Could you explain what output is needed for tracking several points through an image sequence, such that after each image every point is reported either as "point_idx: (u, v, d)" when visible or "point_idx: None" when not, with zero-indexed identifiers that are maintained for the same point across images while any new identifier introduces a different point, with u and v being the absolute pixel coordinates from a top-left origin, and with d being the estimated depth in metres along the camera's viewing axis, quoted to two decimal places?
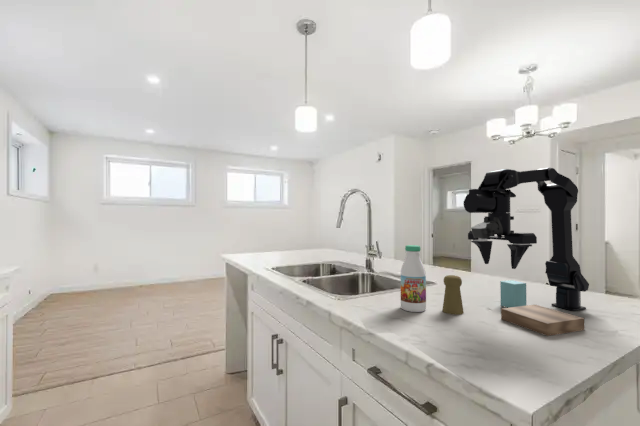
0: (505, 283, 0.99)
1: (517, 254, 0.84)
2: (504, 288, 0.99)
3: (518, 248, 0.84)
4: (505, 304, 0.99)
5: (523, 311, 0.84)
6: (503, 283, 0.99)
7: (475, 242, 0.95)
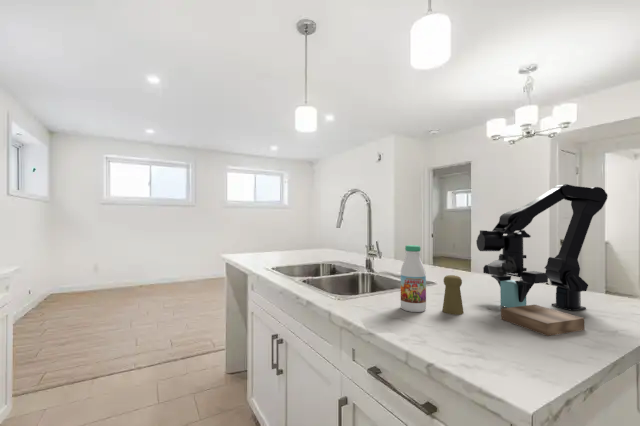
0: (505, 283, 0.99)
1: (524, 289, 0.95)
2: (504, 288, 0.99)
3: (525, 284, 0.95)
4: (505, 304, 0.99)
5: (523, 311, 0.84)
6: (503, 283, 0.99)
7: (495, 277, 1.02)
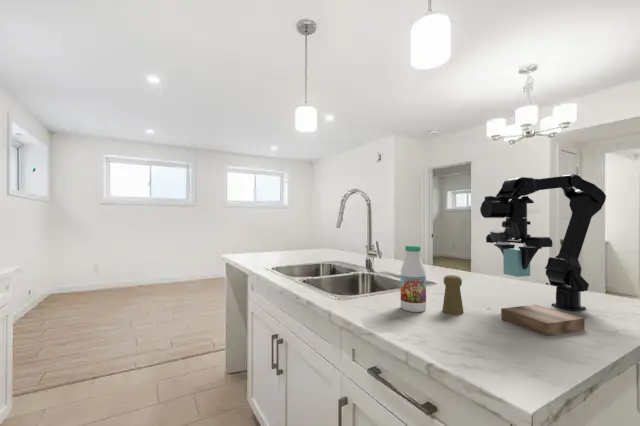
0: (508, 250, 0.96)
1: (528, 256, 0.93)
2: (507, 255, 0.96)
3: (528, 250, 0.93)
4: (508, 272, 0.96)
5: (523, 311, 0.84)
6: (506, 250, 0.97)
7: (498, 245, 0.99)
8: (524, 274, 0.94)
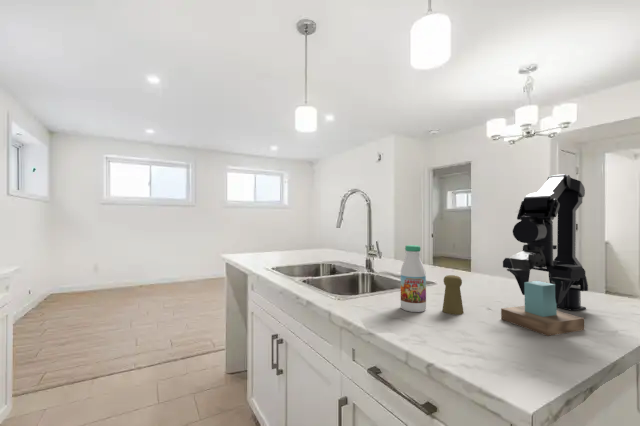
0: (531, 285, 0.83)
1: (562, 288, 0.77)
2: (529, 291, 0.83)
3: (563, 281, 0.77)
4: (530, 310, 0.83)
5: (523, 311, 0.84)
6: (528, 285, 0.83)
7: (512, 271, 0.88)
8: (550, 313, 0.80)
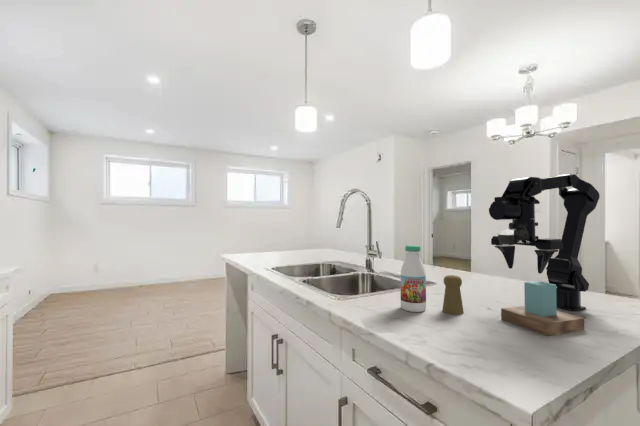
0: (531, 285, 0.83)
1: (543, 259, 0.87)
2: (529, 291, 0.83)
3: (544, 253, 0.87)
4: (530, 310, 0.83)
5: (523, 311, 0.84)
6: (528, 285, 0.83)
7: (499, 247, 0.98)
8: (550, 313, 0.80)
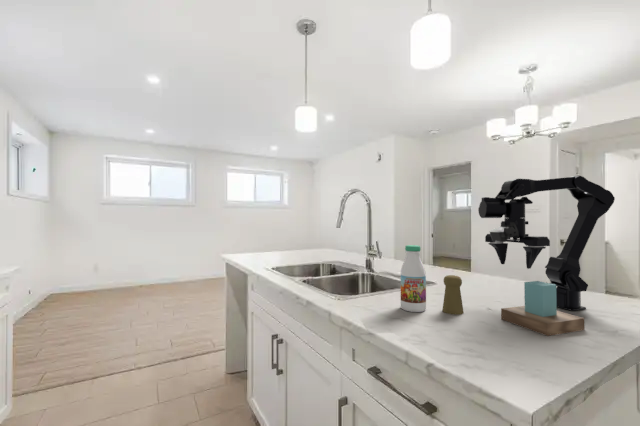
0: (531, 285, 0.83)
1: (532, 255, 0.94)
2: (529, 291, 0.83)
3: (533, 250, 0.94)
4: (530, 310, 0.83)
5: (523, 311, 0.84)
6: (528, 285, 0.83)
7: (492, 244, 1.04)
8: (550, 313, 0.80)
